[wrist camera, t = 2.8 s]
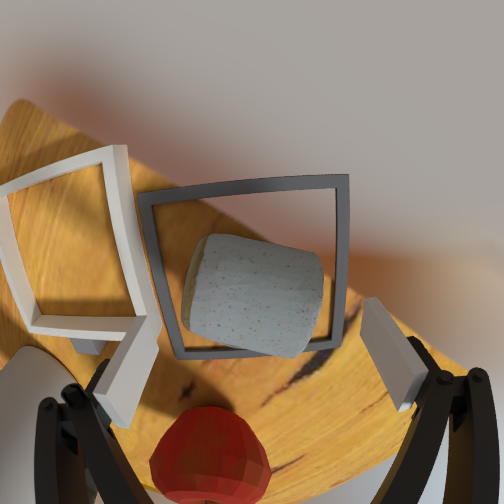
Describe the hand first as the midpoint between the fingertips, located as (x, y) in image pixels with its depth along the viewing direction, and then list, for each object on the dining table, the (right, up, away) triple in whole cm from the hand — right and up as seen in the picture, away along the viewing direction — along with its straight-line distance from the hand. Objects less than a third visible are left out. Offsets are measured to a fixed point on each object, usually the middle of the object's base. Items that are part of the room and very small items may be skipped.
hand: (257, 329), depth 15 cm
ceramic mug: (-1, +2, +7) cm, 7 cm away
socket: (-18, +3, +6) cm, 19 cm away
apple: (-5, -15, +13) cm, 21 cm away
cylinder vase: (-29, -13, +12) cm, 34 cm away
